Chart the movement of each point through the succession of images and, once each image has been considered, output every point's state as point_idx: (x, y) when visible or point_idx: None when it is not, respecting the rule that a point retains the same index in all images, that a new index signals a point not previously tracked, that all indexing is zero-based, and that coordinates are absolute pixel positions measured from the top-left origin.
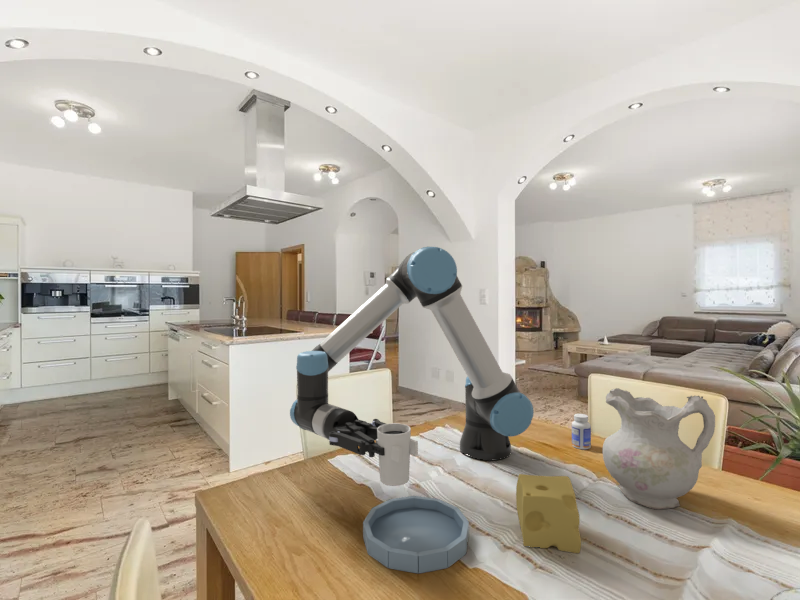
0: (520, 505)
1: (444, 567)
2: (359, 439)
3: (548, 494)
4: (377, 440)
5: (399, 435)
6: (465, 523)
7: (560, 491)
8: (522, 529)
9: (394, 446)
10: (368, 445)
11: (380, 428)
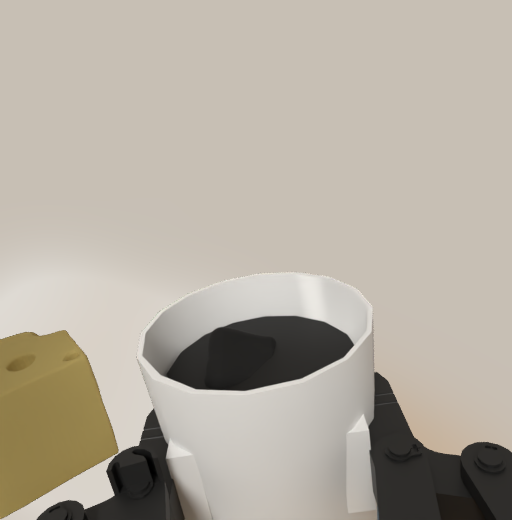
0: (36, 438)
1: None
2: (503, 514)
3: (56, 340)
4: (363, 419)
5: (293, 278)
6: None
7: (27, 341)
8: (84, 450)
9: None
10: (439, 458)
11: (294, 396)
